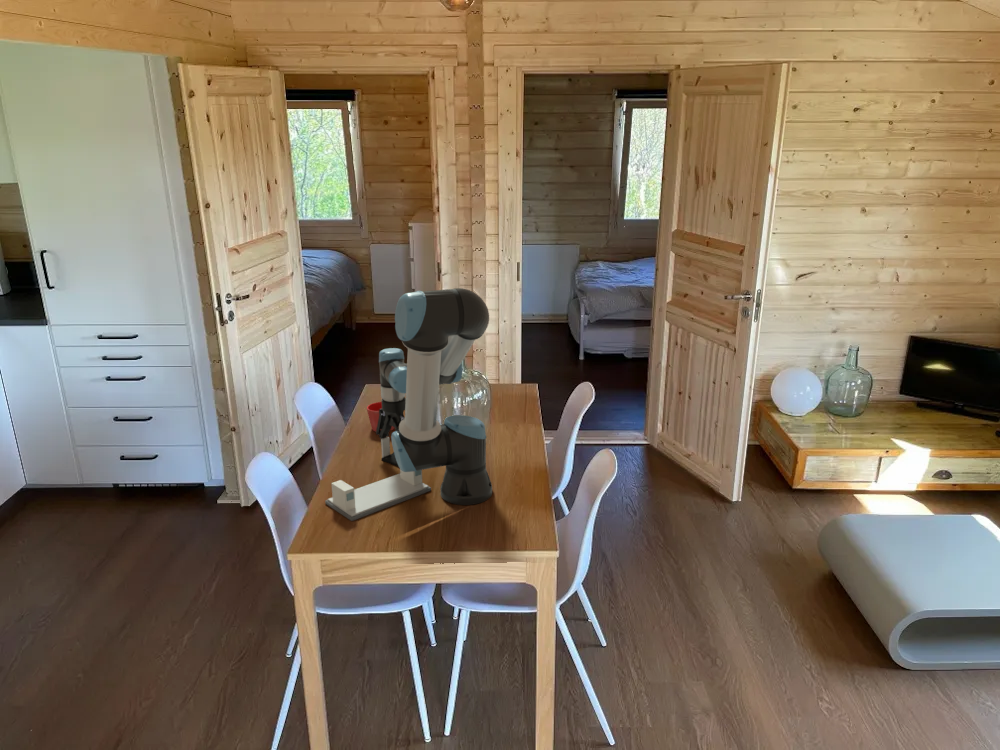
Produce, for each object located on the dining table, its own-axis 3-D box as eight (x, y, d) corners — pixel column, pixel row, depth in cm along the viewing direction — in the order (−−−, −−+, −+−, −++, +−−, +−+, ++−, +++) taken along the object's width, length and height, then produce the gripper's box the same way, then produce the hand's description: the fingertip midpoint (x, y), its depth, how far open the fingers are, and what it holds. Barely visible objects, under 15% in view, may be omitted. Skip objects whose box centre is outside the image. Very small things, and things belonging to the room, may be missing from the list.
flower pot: (365, 428, 261) (363, 403, 259) (394, 424, 265) (393, 399, 263) (372, 439, 252) (370, 412, 249) (402, 434, 256) (401, 408, 253)
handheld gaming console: (384, 466, 235) (380, 459, 233) (404, 443, 240) (400, 436, 238) (408, 474, 228) (403, 467, 226) (427, 450, 234) (423, 443, 232)
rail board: (431, 490, 213) (430, 467, 211) (351, 521, 196) (349, 496, 194) (403, 475, 223) (402, 453, 221) (325, 503, 206) (323, 479, 203)
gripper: (426, 404, 219) (428, 470, 225) (382, 386, 236) (385, 448, 242) (405, 410, 214) (409, 477, 220) (362, 391, 231) (366, 454, 237)
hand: (396, 462), depth 231 cm, fingers closed on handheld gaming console, 11 cm apart
